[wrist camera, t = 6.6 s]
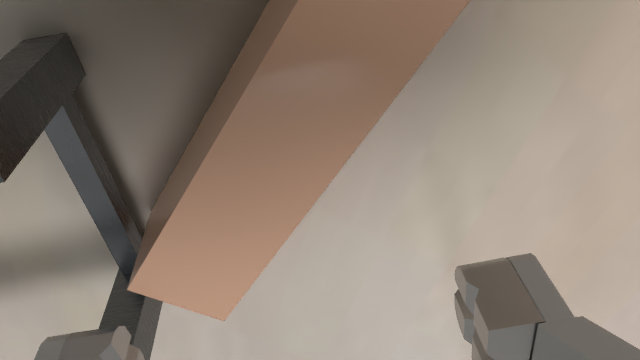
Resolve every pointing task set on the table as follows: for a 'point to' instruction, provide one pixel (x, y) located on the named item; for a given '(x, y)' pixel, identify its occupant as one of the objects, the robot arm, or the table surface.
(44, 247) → the table surface
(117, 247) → the grey metal frame stand
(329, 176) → the salmon orange rectangular block
